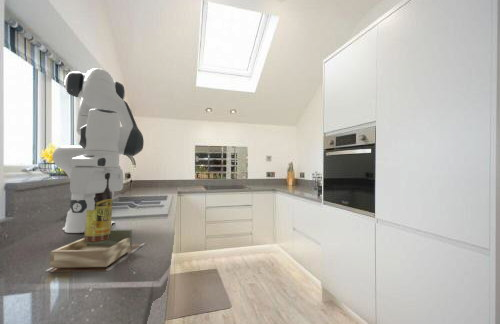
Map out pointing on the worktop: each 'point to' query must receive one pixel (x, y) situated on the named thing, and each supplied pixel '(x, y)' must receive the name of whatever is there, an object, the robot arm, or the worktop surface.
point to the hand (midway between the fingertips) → (99, 208)
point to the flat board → (70, 269)
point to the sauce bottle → (100, 216)
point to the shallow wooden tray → (92, 251)
